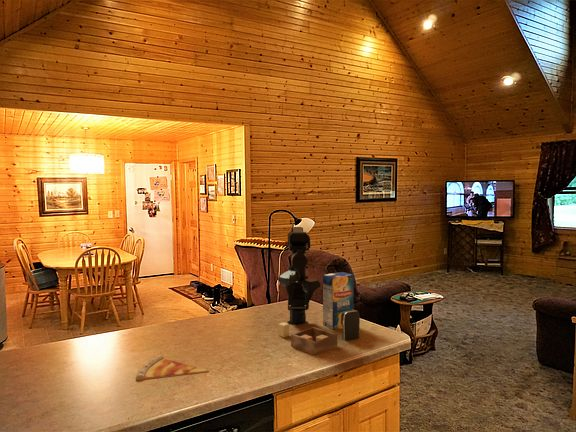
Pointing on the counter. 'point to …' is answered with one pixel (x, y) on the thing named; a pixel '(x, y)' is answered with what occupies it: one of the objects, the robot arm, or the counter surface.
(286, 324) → the lid
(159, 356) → the pizza slice
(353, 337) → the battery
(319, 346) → the box
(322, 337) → the cream block
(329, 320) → the beverage box
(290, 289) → the robot arm
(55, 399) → the counter surface
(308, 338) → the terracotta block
